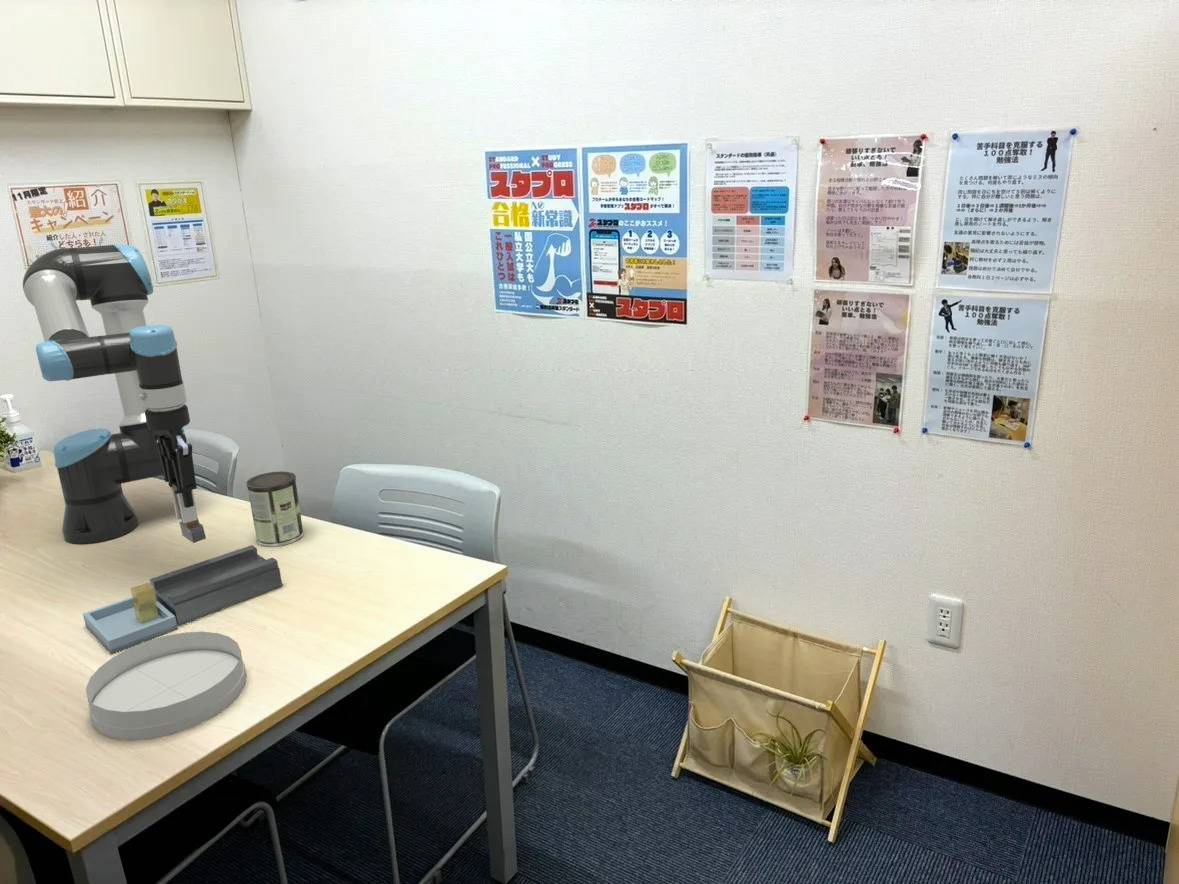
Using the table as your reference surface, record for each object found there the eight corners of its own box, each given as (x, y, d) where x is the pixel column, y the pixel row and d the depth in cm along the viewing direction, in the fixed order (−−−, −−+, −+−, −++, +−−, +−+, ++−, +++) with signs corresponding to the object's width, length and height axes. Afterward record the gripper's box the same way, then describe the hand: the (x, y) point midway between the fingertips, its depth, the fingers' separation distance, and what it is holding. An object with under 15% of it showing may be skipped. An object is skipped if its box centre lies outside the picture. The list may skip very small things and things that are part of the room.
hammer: (182, 535, 168) (168, 481, 164) (195, 531, 169) (181, 477, 165) (193, 543, 164) (179, 488, 160) (206, 538, 166) (192, 484, 162)
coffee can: (274, 526, 191) (265, 469, 187) (312, 530, 189) (305, 472, 184) (245, 544, 182) (235, 485, 177) (285, 549, 179) (276, 489, 175)
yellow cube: (133, 603, 149) (130, 588, 148) (151, 597, 151) (148, 582, 151) (139, 608, 147) (136, 593, 146) (157, 602, 149) (154, 587, 149)
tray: (85, 625, 149) (82, 613, 149) (149, 603, 157) (146, 591, 156) (111, 654, 140) (108, 641, 139) (177, 628, 148) (175, 616, 147)
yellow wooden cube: (153, 611, 152) (136, 617, 150) (150, 597, 151) (132, 603, 149) (159, 617, 150) (141, 623, 148) (156, 602, 149) (138, 609, 147)
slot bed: (154, 604, 157) (148, 578, 155) (254, 568, 170) (251, 544, 169) (178, 625, 149) (172, 598, 147) (282, 586, 162) (278, 561, 161)
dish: (63, 709, 126) (56, 681, 125) (197, 643, 143) (192, 618, 142) (140, 761, 114) (133, 731, 113) (275, 682, 132) (271, 655, 130)
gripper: (130, 404, 160) (153, 515, 168) (160, 417, 150) (183, 535, 157) (170, 396, 166) (190, 504, 173) (201, 409, 155) (222, 523, 162)
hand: (187, 518), depth 165 cm, fingers closed on hammer, 2 cm apart
